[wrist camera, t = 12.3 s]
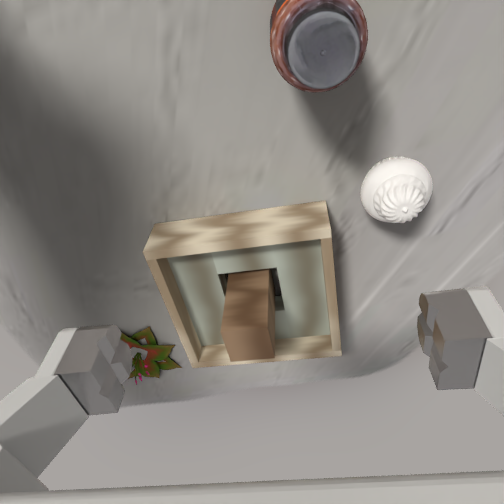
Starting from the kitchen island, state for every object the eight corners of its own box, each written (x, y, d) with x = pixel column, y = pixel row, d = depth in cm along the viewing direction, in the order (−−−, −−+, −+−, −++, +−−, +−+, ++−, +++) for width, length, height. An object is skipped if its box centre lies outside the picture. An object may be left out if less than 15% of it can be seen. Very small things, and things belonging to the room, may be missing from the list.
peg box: (198, 336, 54) (192, 368, 50) (154, 223, 44) (142, 252, 40) (336, 323, 52) (341, 356, 48) (325, 200, 41) (330, 228, 37)
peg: (237, 293, 49) (230, 361, 41) (229, 264, 47) (220, 331, 39) (275, 289, 49) (274, 358, 41) (268, 260, 46) (267, 327, 38)
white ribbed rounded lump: (378, 131, 37) (396, 166, 31) (435, 157, 38) (462, 195, 32) (342, 188, 40) (353, 228, 35) (396, 210, 41) (414, 252, 36)
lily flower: (196, 367, 59) (191, 395, 56) (126, 383, 62) (116, 410, 59) (155, 312, 53) (146, 339, 49) (78, 332, 56) (64, 359, 52)
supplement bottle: (303, 79, 34) (313, 128, 25) (254, 20, 32) (245, 51, 23) (364, 22, 32) (399, 55, 23) (315, -46, 29) (332, -40, 20)
